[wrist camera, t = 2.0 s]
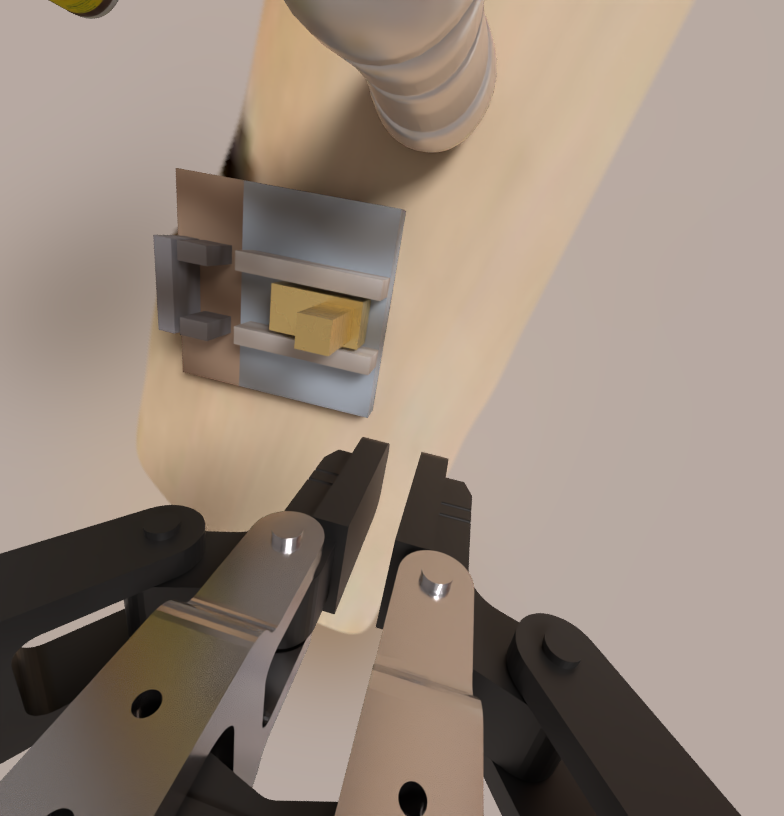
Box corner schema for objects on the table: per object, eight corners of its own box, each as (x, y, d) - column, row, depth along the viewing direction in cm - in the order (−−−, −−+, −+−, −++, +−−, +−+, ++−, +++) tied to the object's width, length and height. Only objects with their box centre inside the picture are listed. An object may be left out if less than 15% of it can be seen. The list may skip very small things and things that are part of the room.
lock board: (190, 171, 28) (142, 159, 24) (405, 210, 26) (392, 205, 22) (195, 366, 33) (156, 383, 30) (372, 410, 32) (356, 434, 28)
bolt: (285, 280, 28) (236, 289, 22) (371, 298, 27) (342, 312, 21) (282, 324, 29) (235, 343, 23) (364, 342, 28) (336, 367, 23)
